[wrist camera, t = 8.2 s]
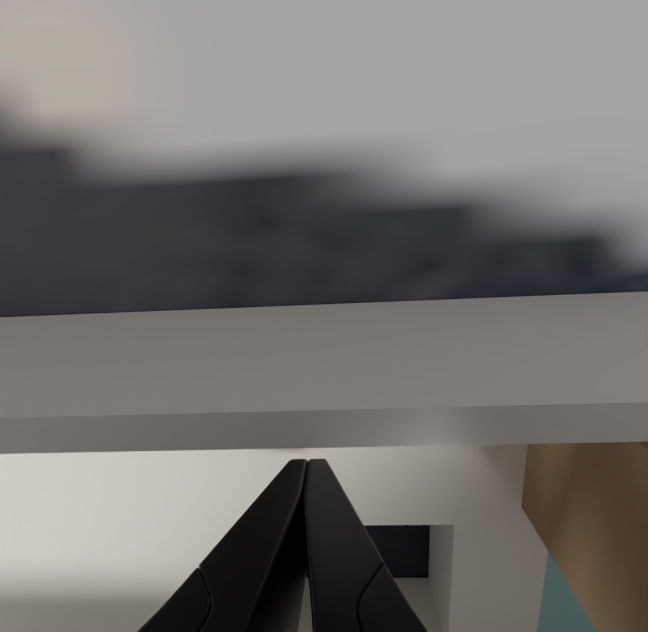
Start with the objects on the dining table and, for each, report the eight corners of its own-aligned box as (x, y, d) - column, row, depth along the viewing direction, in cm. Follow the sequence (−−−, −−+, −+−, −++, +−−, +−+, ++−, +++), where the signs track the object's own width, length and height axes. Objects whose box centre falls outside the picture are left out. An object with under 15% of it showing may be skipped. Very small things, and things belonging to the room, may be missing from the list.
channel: (655, 590, 13) (896, 882, 8) (63, 589, 14) (-121, 841, 9) (731, 288, 10) (1228, 387, 5) (-24, 318, 12) (-389, 427, 6)
